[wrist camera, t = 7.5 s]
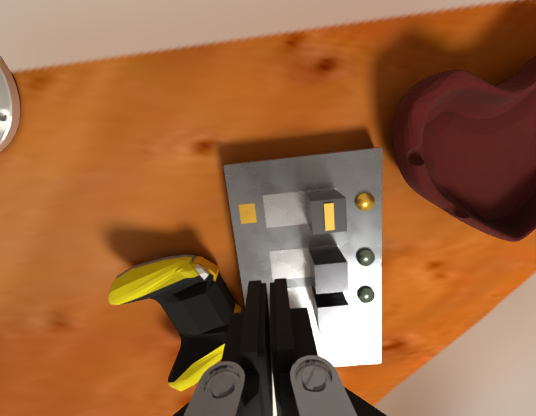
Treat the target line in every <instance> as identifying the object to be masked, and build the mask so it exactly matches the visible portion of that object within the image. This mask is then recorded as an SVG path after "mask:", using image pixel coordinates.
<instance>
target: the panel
mask: <svg viewBox="0 0 536 416" xmlns="http://www.w3.org/2000/svg"><path fill="white" fill-rule="evenodd" d="M223 167H224V174H225V180H226V186H227V193H228V199H229V206H230V212H231V219H232V225H233V232H234V238H235V245H236V251H237V257H238V264H239V270H240V277H241V283H242V290H243V296H244V303H245V304H246V297H247V290H248V283H249V281H255V280H261V282H262V283H266V286H267V296H268V305H269V315H270V283H272V282H274V279H280V278H286V280H287V288H288V296H289V304H290V309H291V308H304V307H307V309H308V313H309V317H310V321H311V326H312V330H313V335H314V339H315V344H316V348H317V353H318V356H320V357H322V358H325V359H327V360H328V361H329V362H330V363H331V364H332V365H333V366H334V367H338V366H350V365H363V364H375V363H381V289H382V148H380V147H369V148H360V149H351V150H343V151H334V152H325V153H316V154H307V155H298V156H289V157H280V158H271V159H262V160H253V161H244V162H235V163H227V164H225V165H223ZM330 190H337V191H338V192H339V193H341V194H342V195H343V196H344V197H346V210H347V231H344V232H334V233H324V234H314V235H313V234H312V232H311V230H310V227H309V225H308V223H307V211H306V198H305V193H312V192H321V191H330Z"/></svg>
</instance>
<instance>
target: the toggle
mask: <svg viewBox="0 0 536 416" xmlns="http://www.w3.org/2000/svg"><path fill="white" fill-rule="evenodd" d="M305 198H306V211H307V223H308V225H309V227H310V230H311V232H312V234H313V235H314V234H324V233H334V232H344V231H347V210H346V197H344V196H343V195H342V194H341V193H339V192H338V191H337V190H330V191H321V192H312V193H305Z"/></svg>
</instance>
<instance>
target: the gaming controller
mask: <svg viewBox="0 0 536 416" xmlns="http://www.w3.org/2000/svg"><path fill="white" fill-rule="evenodd" d="M218 272H219V267H217V266H216V265H215V264H213V263H212V262H210V261H208V260H207V259H205V258H203V257H200V256H195V255H191V254H185V255H177V256H168V257H163V258H160V259H156V260H153V261H149V262H145V263H142V264H138V265H135V266H133V267H131V268H130V269H128V270H126V271H125V272H123V273H121V274H120V275H118V276H117V277H116V279H115V280H114V282H113V284H112V286H111V289H110V292H109V297H108V298H109V302H110V304H114V305H121V304H126V303H130V302H135V301H139V300H143V299H148V298H150V299H154V300H156V301H157V302H158V303H160V305H161V306H162V308H163V309H164V311H165V312H166V314H167V315H168V317H169V318H170V320H171V321H172V323H173V324H174V326H175V327H176V329H177V330H178V332H179V334H180V337H181V347H180V350H179V353H178V355H177V358H176V360H175V363H174V365H173V367H172V370H171V372H170V375H169V377H168V385H170V386H171V387H173V388H175V389H177V390H179V391H183V390H185V389H187V388H189V387H191V386H193V385H194V384H196V383H197V382H198V381H199V380H200V378H201V377H202V375H203V373H204V372H205V371H206V370H207V369H208V368H209V367H211V366H213V365H214V364H216V363H217V362H218V361H219V360H220V359H221V358H222V355H223V351H224V346H225V341H226V336H227V332H228V327H229V322H230V318H231V314H232V313H238V312H242V309H241V306H239V305H238V304H236V303H235V301H234V299H233V297H232V296H231V294H230V292H229V290H228V289H227V287H226V285H225V284H224V282H223V280H222V278H221V277H220V275H219V273H218Z"/></svg>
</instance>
